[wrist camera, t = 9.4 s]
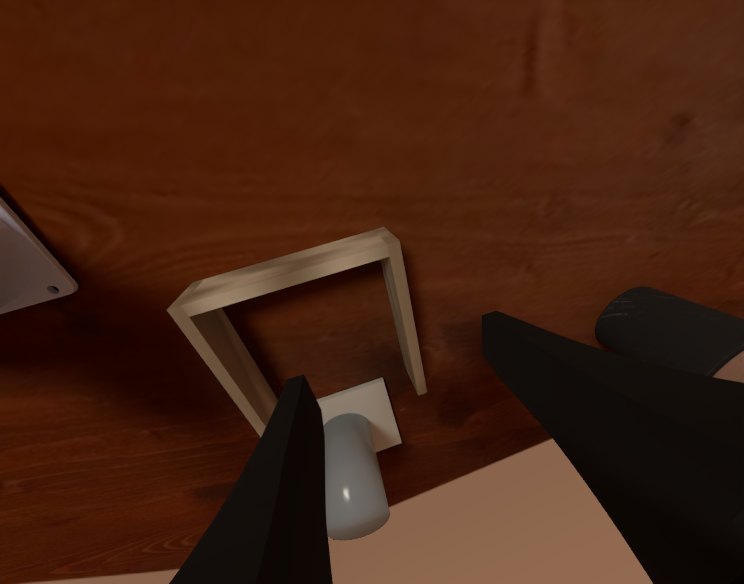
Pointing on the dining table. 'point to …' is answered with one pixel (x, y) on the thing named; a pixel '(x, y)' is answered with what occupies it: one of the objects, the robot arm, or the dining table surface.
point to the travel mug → (674, 333)
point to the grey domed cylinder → (352, 479)
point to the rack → (206, 297)
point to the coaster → (365, 410)
